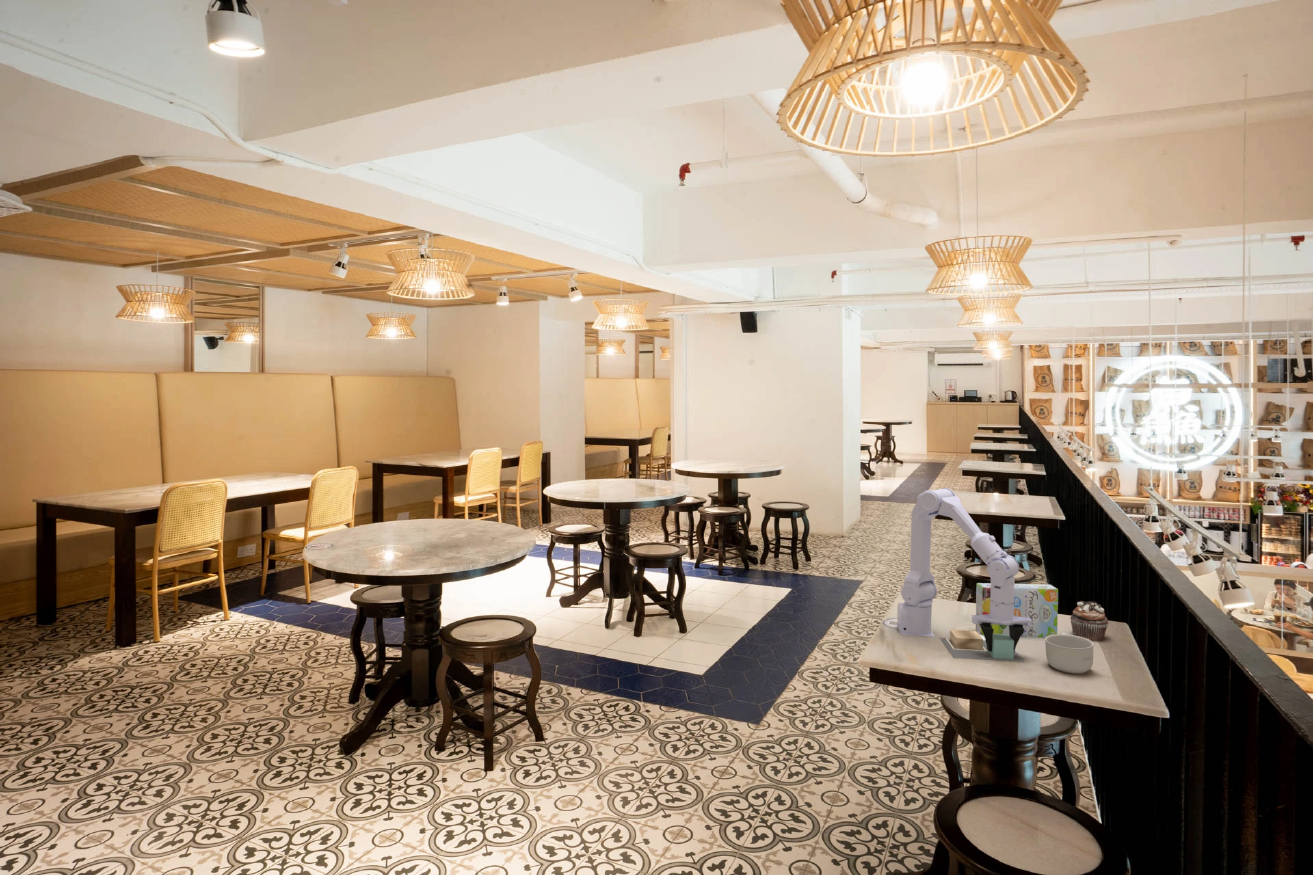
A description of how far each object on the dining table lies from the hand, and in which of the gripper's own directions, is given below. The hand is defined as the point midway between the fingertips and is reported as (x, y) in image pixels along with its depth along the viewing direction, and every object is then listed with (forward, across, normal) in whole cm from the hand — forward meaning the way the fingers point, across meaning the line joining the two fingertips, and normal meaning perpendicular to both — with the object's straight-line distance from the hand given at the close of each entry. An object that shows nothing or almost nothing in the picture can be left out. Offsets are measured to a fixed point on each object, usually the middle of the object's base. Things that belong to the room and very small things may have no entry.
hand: (1000, 650), depth 190 cm
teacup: (+2, +15, -5) cm, 16 cm away
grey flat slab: (+2, -4, +4) cm, 6 cm away
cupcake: (+2, +31, +23) cm, 39 cm away
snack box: (+2, +10, +20) cm, 22 cm away
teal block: (+1, 0, 0) cm, 1 cm away
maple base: (+1, -7, +7) cm, 10 cm away
